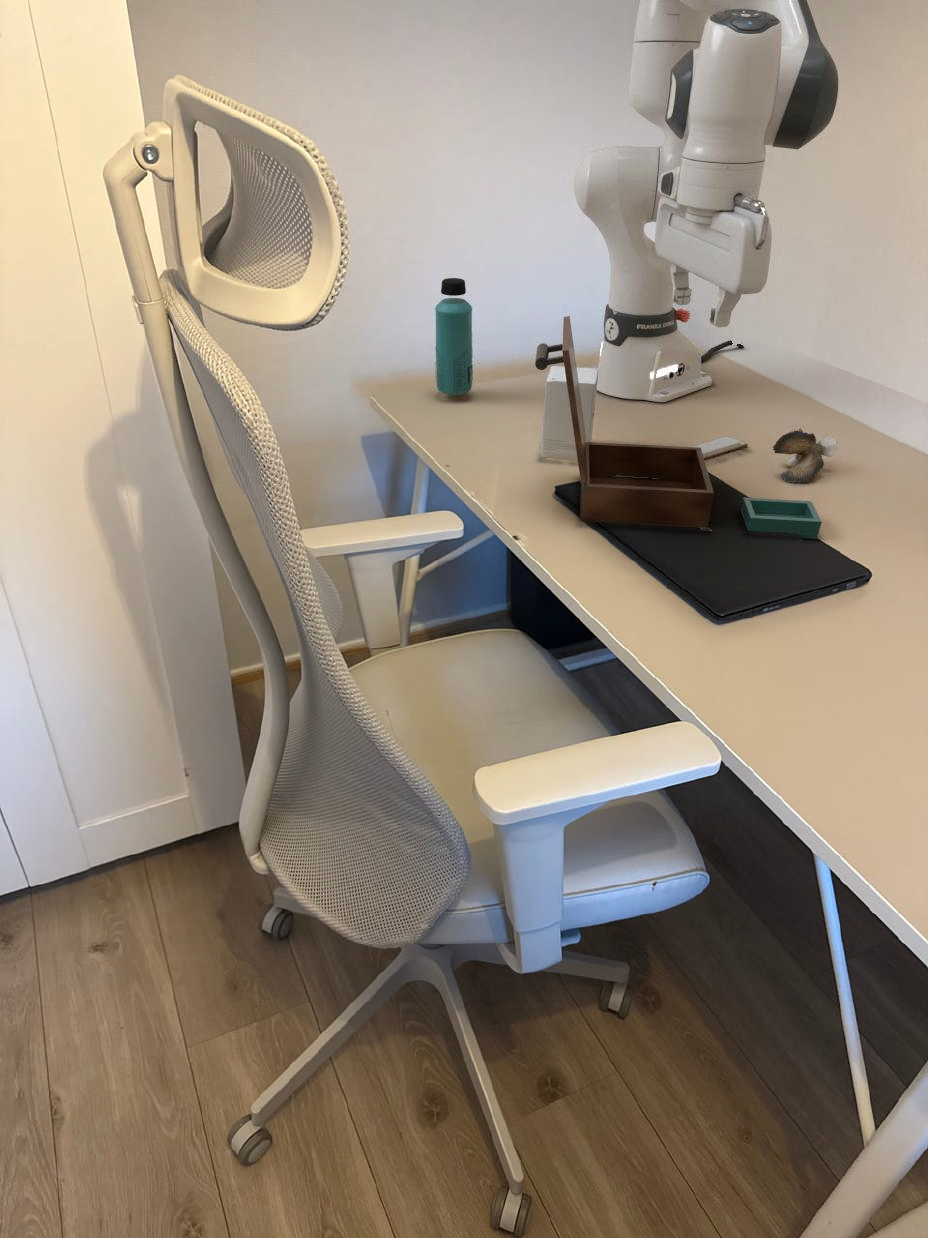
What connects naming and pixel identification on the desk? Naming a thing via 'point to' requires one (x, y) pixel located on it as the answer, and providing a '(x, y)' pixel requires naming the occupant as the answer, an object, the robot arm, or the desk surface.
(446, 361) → the beverage bottle
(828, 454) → the eagle figurine
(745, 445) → the harmonica
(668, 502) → the box
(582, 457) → the lid
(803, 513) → the dish
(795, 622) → the desk surface
